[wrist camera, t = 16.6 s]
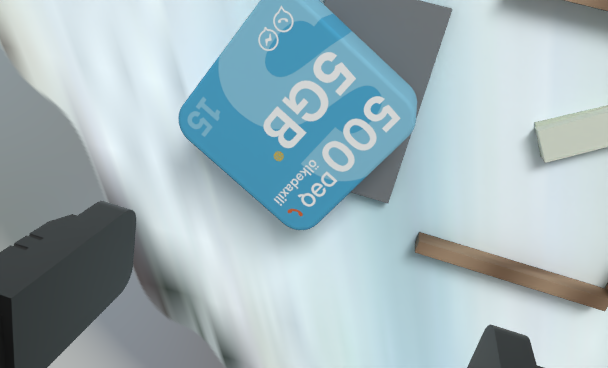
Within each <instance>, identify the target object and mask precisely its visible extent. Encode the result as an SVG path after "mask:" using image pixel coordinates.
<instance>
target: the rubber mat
mask: <svg viewBox="0 0 608 368" xmlns="http://www.w3.org/2000/svg"><path fill="white" fill-rule="evenodd" d="M324 5H325V6H326V7H327V8H328V9H329V10H330V11H331V12H332V13H333V14H334V15H336V16H337V17H338V18H339V19H340V20H341V21H342V22H343V23H344V24H345V25H346V26H347V27H348V28H349V29H350V30H351V31H352V32H354V33H355V34H356V35H357V36H358V37H359V38H360V39H361V40H362V41H363V42H364V43H365V44H366V45H367V46H368V47H369V48H371V49H372V50H373V51H374V52H375V53H376V54H377V55H378V56H379V57H380V58H381V59H382V60H383V61H384V62H385V63H386V64H388V65H389V66H390V67H391V68H392V69H393V70H394V71H395V72H396V73H397V74H398V75H399V76H400V77H401V78H402V79H403V80H404V81H406V82H407V83H408V84H409V85H410V86H411V87H412V89H413V90H414V92H415V94H416V97H417V112H416V117H417V114H418V111H419V108H420V105H421V102H422V99H423V96H424V93H425V90H426V87H427V84H428V81H429V78H430V75H431V72H432V69H433V66H434V63H435V60H436V57H437V54H438V51H439V48H440V45H441V42H442V39H443V36H444V33H445V30H446V27H447V24H448V21H449V18H450V15H451V12H452V9H451V8H447V7H443V6H439V5H435V4H431V3H427V2H423V1H420V0H325V2H324ZM410 136H411V134H410V135H409V136H408V137H407V138H406V139H405V140H404V141H403V142H402V143H401V144H400V145H399V146H398V147H397V148H396V149H395V150H394V151H393V152H392V153H391V154H390V155H389V156H388V157H386V158H385V159H384V160H383V161H382V162H381V163H380V164H379V165H378V166H377V167H376V168H375V169H374V170H373V171H372V172H371V173H370V174H369V175H368V176H367V177H366V178H365V179H363V180H362V181H361V182H360V183H359V184H358V185H357V186H356V187H355V188H354V189H353V190H352V191H351V192H352V193H355V194H358V195H362V196H365V197H368V198H372V199H375V200H378V201H382V202H385V203H388V202H389V199H390V196H391V193H392V190H393V187H394V184H395V181H396V178H397V175H398V172H399V169H400V166H401V163H402V160H403V157H404V154H405V151H406V148H407V145H408V142H409V139H410Z"/></svg>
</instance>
